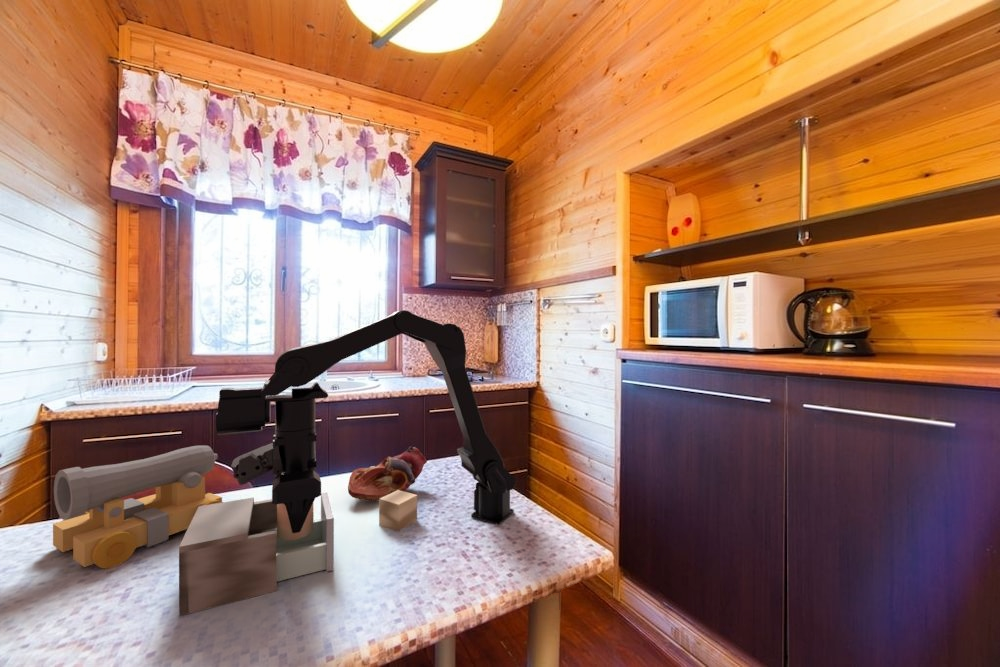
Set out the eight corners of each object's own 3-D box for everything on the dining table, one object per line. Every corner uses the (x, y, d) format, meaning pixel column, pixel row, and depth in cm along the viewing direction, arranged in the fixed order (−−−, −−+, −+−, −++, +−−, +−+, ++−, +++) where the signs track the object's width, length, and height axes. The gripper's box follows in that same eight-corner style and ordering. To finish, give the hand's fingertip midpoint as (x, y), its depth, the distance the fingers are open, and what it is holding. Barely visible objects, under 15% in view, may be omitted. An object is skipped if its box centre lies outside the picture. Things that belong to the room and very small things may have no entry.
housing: (277, 545, 69) (277, 493, 69) (276, 590, 57) (276, 527, 57) (198, 562, 64) (198, 506, 64) (179, 616, 52) (178, 546, 52)
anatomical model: (335, 474, 88) (386, 424, 90) (369, 484, 98) (414, 439, 100) (356, 512, 82) (411, 458, 84) (391, 519, 92) (438, 471, 94)
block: (417, 520, 79) (417, 495, 79) (398, 531, 74) (398, 504, 74) (398, 514, 81) (398, 489, 81) (379, 524, 77) (379, 498, 77)
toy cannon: (239, 518, 79) (239, 442, 79) (83, 580, 60) (83, 479, 60) (195, 502, 87) (195, 432, 87) (44, 551, 68) (44, 462, 67)
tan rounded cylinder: (312, 521, 68) (312, 486, 68) (314, 535, 64) (314, 497, 63) (277, 528, 66) (277, 491, 66) (276, 543, 61) (276, 504, 61)
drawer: (327, 537, 72) (327, 492, 72) (333, 569, 62) (333, 518, 62) (261, 551, 67) (261, 503, 67) (258, 589, 57) (258, 533, 57)
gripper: (241, 420, 69) (241, 511, 69) (227, 449, 52) (228, 569, 53) (313, 414, 74) (313, 499, 74) (321, 439, 58) (321, 547, 58)
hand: (296, 524), depth 65 cm, fingers closed on tan rounded cylinder, 5 cm apart
